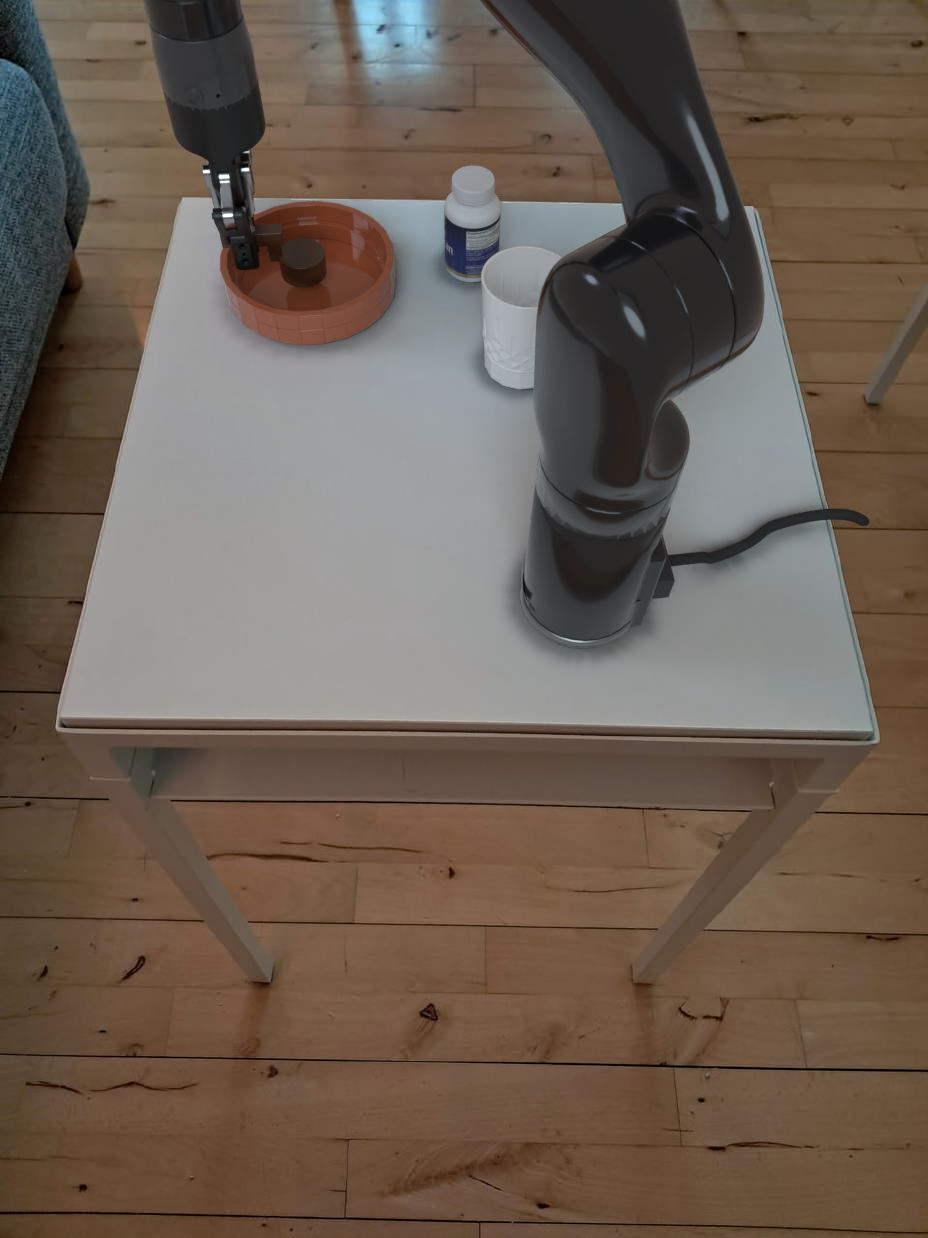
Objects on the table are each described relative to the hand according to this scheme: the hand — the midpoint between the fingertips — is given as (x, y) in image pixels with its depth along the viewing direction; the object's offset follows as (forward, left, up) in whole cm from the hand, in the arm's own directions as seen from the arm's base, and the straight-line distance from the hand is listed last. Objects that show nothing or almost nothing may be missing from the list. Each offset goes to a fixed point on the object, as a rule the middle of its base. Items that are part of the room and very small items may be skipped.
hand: (248, 259), depth 89 cm
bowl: (-6, 0, -4) cm, 7 cm away
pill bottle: (-22, -2, -4) cm, 22 cm away
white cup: (-25, +12, -4) cm, 28 cm away
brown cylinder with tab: (-3, 0, -2) cm, 3 cm away
